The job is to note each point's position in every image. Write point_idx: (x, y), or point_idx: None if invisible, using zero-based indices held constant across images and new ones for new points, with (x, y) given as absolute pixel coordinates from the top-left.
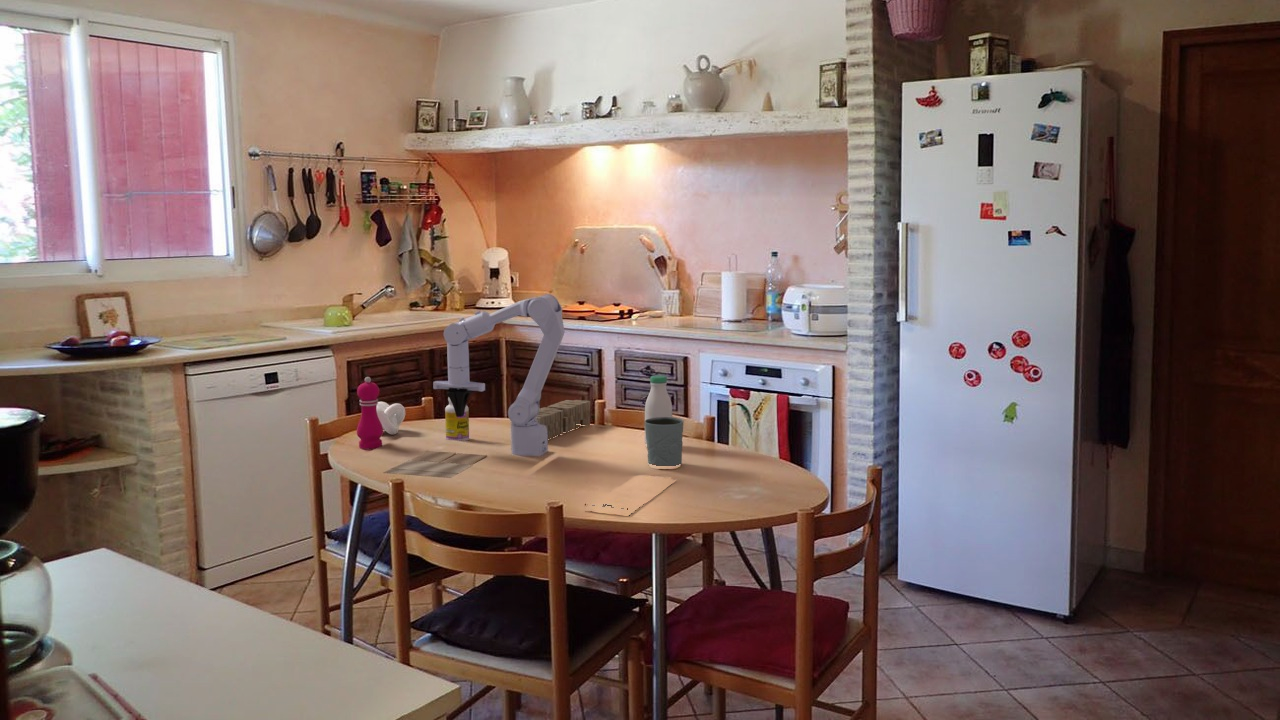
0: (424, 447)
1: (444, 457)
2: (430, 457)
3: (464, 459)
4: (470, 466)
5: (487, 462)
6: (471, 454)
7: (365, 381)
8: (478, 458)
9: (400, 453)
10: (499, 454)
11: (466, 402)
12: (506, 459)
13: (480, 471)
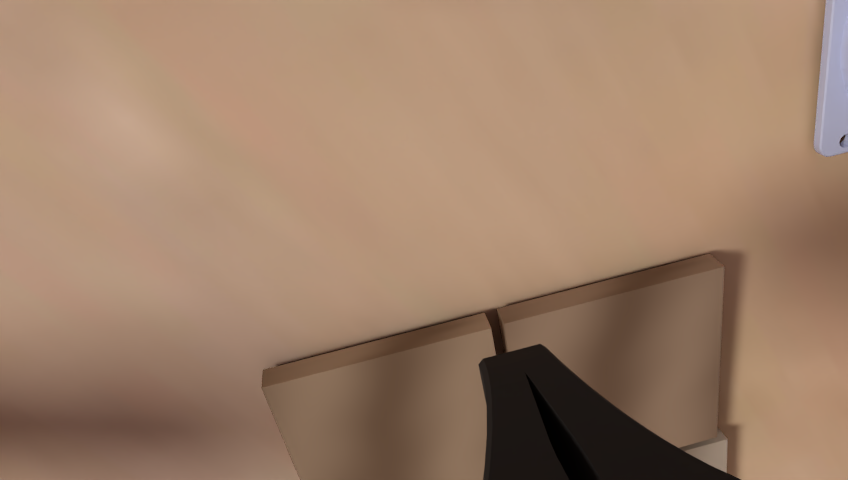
0: (4, 195)
1: (484, 428)
2: (399, 467)
3: (626, 395)
4: (726, 464)
5: (732, 289)
6: (614, 303)
7: None
8: (702, 343)
9: (30, 413)
10: (723, 77)
11: (661, 446)
12: (823, 171)
13: (772, 436)
